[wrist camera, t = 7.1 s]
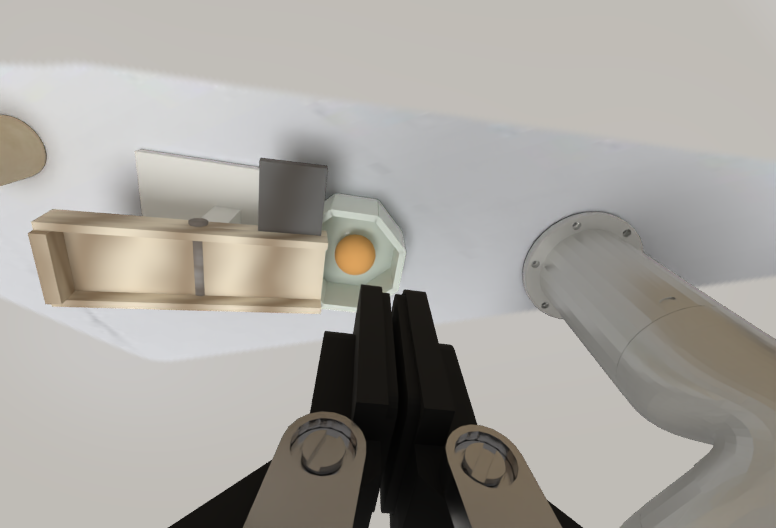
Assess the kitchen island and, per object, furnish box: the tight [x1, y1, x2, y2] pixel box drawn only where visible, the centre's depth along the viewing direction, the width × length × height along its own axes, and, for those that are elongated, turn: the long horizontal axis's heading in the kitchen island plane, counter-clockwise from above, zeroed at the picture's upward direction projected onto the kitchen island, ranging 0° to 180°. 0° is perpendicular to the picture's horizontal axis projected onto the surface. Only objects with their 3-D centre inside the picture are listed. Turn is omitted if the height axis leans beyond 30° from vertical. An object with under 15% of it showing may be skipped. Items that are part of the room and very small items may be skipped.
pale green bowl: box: [321, 193, 406, 313], centre depth 38 cm, size 10×10×5 cm
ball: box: [335, 234, 376, 275], centre depth 38 cm, size 4×4×4 cm
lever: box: [28, 158, 328, 314], centre depth 30 cm, size 20×13×3 cm, turn 81°
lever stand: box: [135, 149, 259, 225], centre depth 36 cm, size 16×13×7 cm
